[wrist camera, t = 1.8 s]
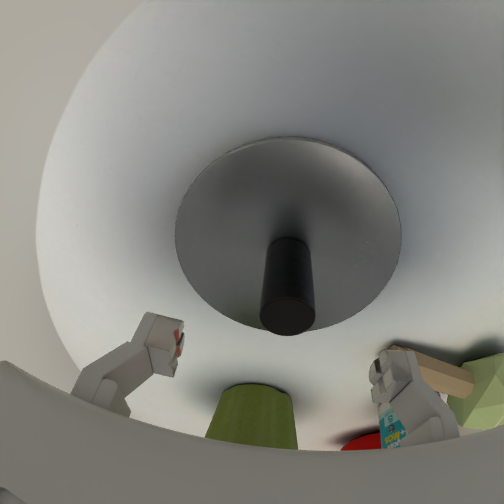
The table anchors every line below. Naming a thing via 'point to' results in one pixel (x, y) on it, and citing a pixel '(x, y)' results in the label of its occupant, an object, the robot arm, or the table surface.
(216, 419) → the plant pot
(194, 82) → the table surface
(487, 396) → the decorative object
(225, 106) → the table surface
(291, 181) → the lid
